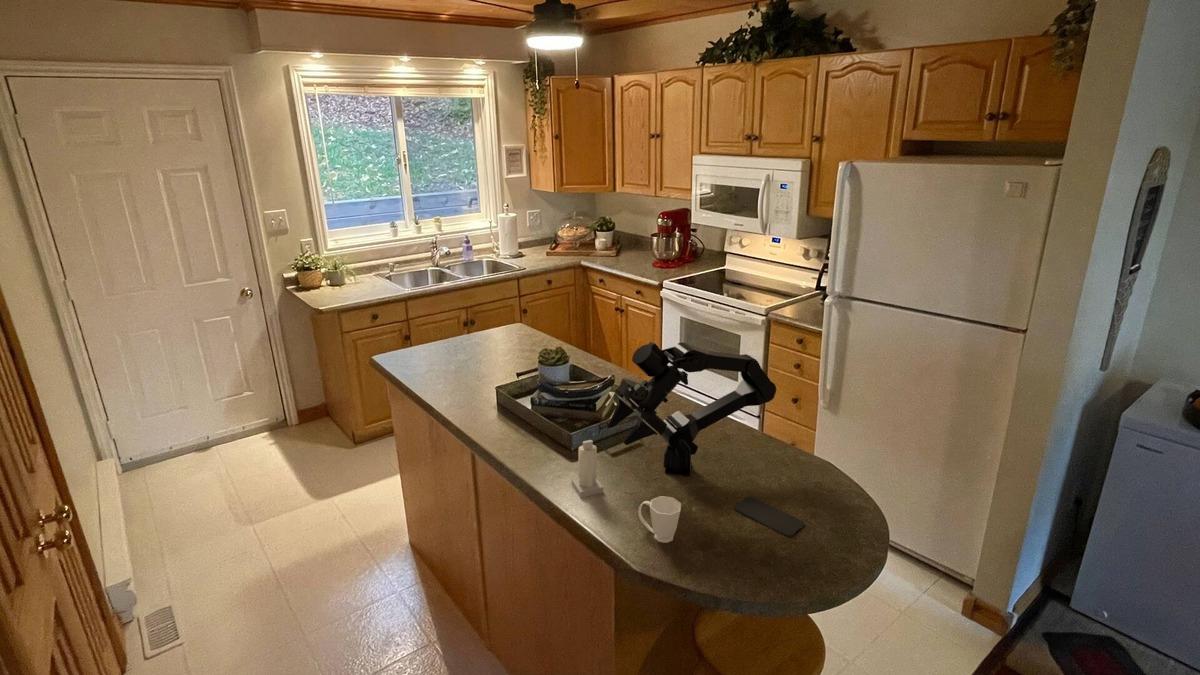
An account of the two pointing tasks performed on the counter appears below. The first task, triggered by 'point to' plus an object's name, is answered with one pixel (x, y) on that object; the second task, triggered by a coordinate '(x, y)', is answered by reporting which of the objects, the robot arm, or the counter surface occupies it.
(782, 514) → the phone
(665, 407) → the counter surface
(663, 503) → the cup
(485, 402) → the counter surface
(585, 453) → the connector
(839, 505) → the counter surface
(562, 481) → the counter surface
